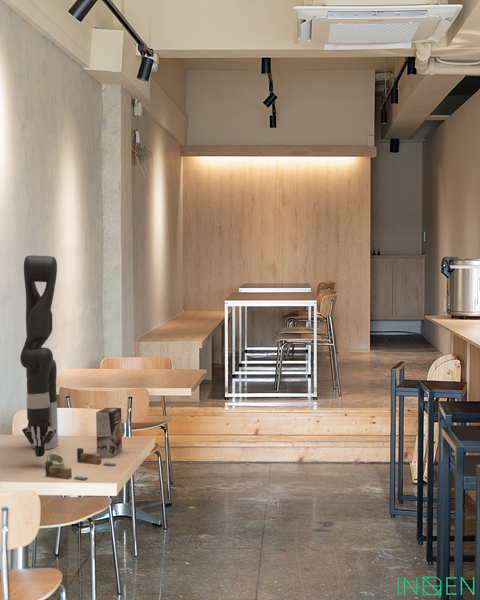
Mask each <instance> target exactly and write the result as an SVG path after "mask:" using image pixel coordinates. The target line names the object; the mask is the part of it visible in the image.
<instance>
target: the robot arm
mask: <svg viewBox="0 0 480 600" xmlns="http://www.w3.org/2000/svg"><path fill="white" fill-rule="evenodd" d="M57 273H58V261H57V259H56V257H55V256H50V255H36V254H35V255H26V256H25V257H24V261H23V279H24V289H25V329H26V330H25V331H26V332H25V333H26V338H25V341H24V344H23V347H22V350H21V353H20V357H19V359H20V364H21V366H22V367H23V368H24V369H26V370H25V371H26V393H27V394H26V419H27V421H28V422H27V426H26V427H25V428H22V430H21V431H22V433H23V434H24V436H25V438H26V440H27V441H28V442H29V444H30V448H32V449H34V454H35V457H37V458H40V457H44V455H45V450H50V449H55V448H56V447H58V446H59V439H58V438H59V432H58V404H57V403H58V400H57V399H58V398H57V396H58V395H57V375H58V374H57V362H56V360H55V359H54V355H53V354H54V353H53V351H52V350H51V349H50V347H49V348H48V347H43V345H44V344H45V343H46V341H47V340H48V339H49V338H50V336H51V334H52V332H53V313H52V305H53V299H54V295H55V288H56V283H57V281H56V280H57ZM36 282H37V283H45V288H44V290H43V293H42V294H40V293H39V291H38V288H37V286H36Z"/></svg>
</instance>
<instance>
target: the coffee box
mask: <svg viewBox="0 0 480 600" xmlns="http://www.w3.org/2000/svg"><path fill="white" fill-rule="evenodd" d="M95 416H96V417H95V421H96V422H95V426H96V427H95V428H96V454H100V455H101V458H114V457H115V456H117V455H118V454H119V453H121V452H122V451H123V431H122V430H123V429H122V428H123V427H122V426H123V425H122V407H105V408H102V409H100V410H98V411H97V412H96V414H95Z"/></svg>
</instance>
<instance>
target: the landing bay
mask: <svg viewBox="0 0 480 600" xmlns="http://www.w3.org/2000/svg"><path fill="white" fill-rule="evenodd" d="M103 466H105V467H106V466H109V467H115V466H117V463H115V462H108V461H107V462H103ZM88 479H89V478H88V477H87V476H80V475H79V476H78V475H76V476H75V477H74V480H77V481H84V482H85V481H86V480H88Z"/></svg>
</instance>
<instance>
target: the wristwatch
mask: <svg viewBox="0 0 480 600" xmlns="http://www.w3.org/2000/svg"><path fill="white" fill-rule="evenodd" d="M47 461H52V466H57V467H64V463H65V459H64V457H62V456H61V455H59V454H56V453H48V454H47V457H46V461H45V463H46V462H47ZM54 462H55V463H54ZM56 462H57V463H56ZM44 469H45V470H46V464H45V465H44Z"/></svg>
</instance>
